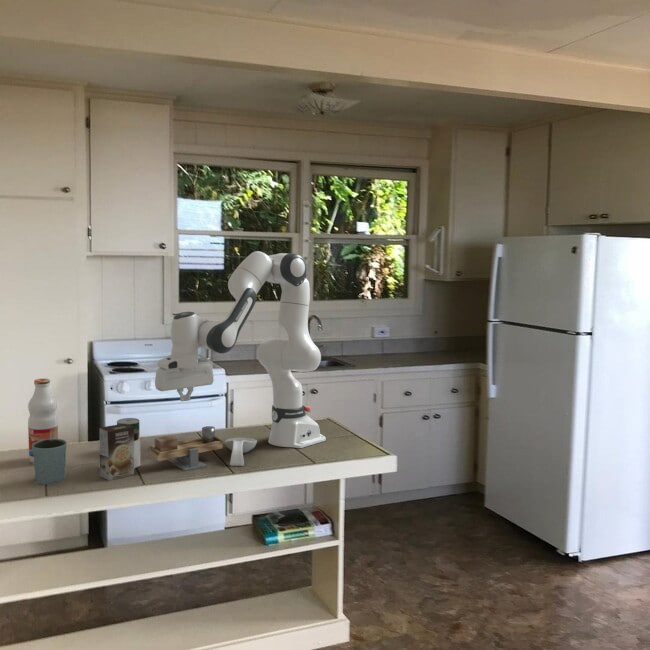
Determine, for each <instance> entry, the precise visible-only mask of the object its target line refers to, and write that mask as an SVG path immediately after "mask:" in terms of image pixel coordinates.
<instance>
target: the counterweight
mask: <svg viewBox="0 0 650 650" xmlns="http://www.w3.org/2000/svg"><path fill="white" fill-rule="evenodd" d="M215 430H216V428H215V426H210V425H209V426H203V427H202V428H201V438H202V443H204V444H205V443H210V442H215V436H216V431H215Z"/></svg>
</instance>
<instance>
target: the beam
mask: <svg viewBox="0 0 650 650" xmlns="http://www.w3.org/2000/svg"><path fill="white" fill-rule="evenodd" d="M177 447H178V449H175V450H169V451H164V452H160V451H158V450H157V449H155V446H152V445H149V446H148V456H149V457H150V458H152V459H153V460H155V461H156V462H161V461H168V460H167V459H172V458H176V457H181V456H186V455H189V450H190V449H195V448H197V449H198V454H200V453H205V452H209V451H210V452H211V451H215V450H220V449H223V438H221V437H219V436H216V435H215V442H210V443H205V444H204V443H202V437H201V438H195V439H190V440H185V441H184V440H183V442H179V443H177Z"/></svg>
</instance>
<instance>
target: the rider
mask: <svg viewBox="0 0 650 650" xmlns="http://www.w3.org/2000/svg"><path fill="white" fill-rule="evenodd" d="M177 441H178V438H177V437H175V436H173V435H165V436H161V437H160V436H159V437H155V438H154V447H155V449H157V450H158V451H160V452H164V451H169V450H175V449H178V447H177Z"/></svg>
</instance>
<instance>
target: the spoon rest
mask: <svg viewBox="0 0 650 650" xmlns="http://www.w3.org/2000/svg"><path fill="white" fill-rule="evenodd" d="M257 442H258V440H257V439H256V438H251V437H233V438H232V437H230V438H228V439H225V440H224V444H225V446H226V447H227V448H228V449H229V450H230V451H231V455H230V460H229V461H230V462H229V466H231V467H239V466H241V467H242V466H244V465H245V461H244V455H243V454H246V453H249V452H250V451H252V450H253V449H254V448H255V447H256V445H257Z"/></svg>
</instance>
